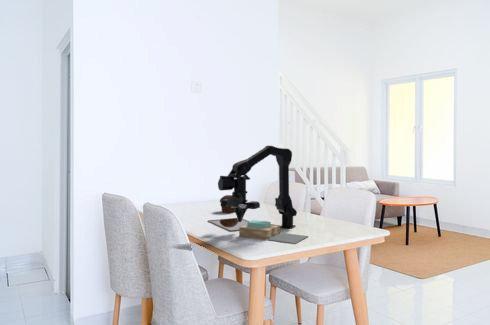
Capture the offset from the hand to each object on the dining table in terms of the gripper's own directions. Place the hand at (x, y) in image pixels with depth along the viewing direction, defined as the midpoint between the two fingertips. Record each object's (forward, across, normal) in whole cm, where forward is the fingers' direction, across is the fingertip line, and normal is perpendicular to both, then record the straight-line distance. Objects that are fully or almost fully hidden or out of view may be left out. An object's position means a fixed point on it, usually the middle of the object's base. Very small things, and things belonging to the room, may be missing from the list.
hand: (239, 221), depth 201 cm
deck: (+5, +11, 0) cm, 12 cm away
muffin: (+5, -34, +45) cm, 57 cm away
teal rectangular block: (+1, +10, 0) cm, 10 cm away
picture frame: (+6, -11, +14) cm, 19 cm away
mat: (+5, +25, 0) cm, 25 cm away
